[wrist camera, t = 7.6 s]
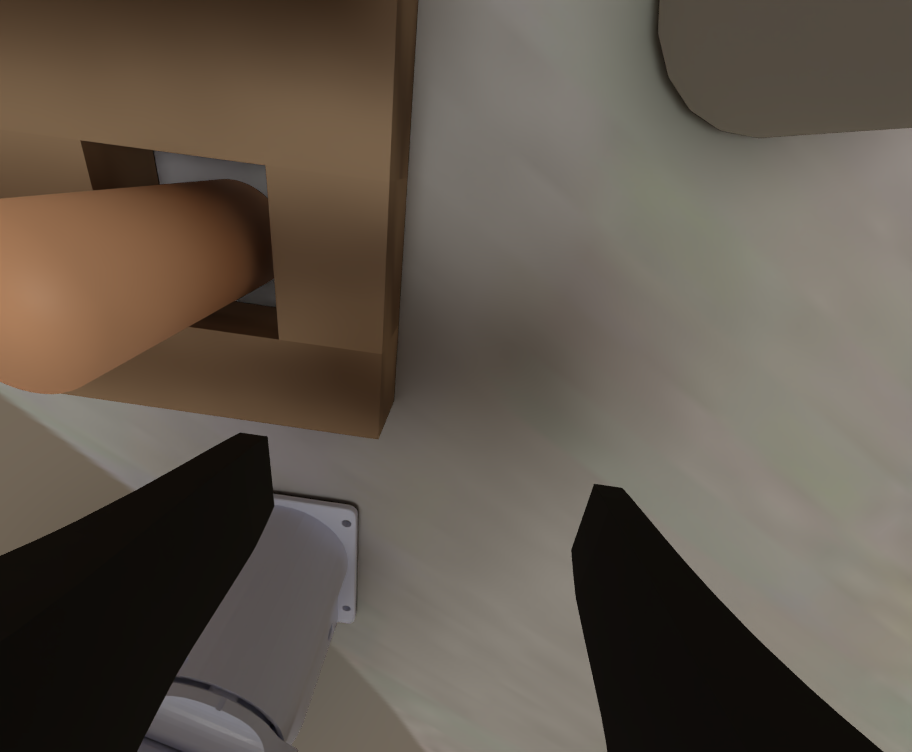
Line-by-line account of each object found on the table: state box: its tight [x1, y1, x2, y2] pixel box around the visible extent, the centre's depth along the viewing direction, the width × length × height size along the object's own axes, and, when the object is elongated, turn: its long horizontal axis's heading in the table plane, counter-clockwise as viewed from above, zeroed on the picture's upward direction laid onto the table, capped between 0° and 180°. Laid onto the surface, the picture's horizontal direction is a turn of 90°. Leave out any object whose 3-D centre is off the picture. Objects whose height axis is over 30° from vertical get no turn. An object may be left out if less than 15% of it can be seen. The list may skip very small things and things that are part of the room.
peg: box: [0, 179, 274, 394], centre depth 13 cm, size 4×4×9 cm
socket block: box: [0, 0, 418, 439], centre depth 12 cm, size 16×13×10 cm
